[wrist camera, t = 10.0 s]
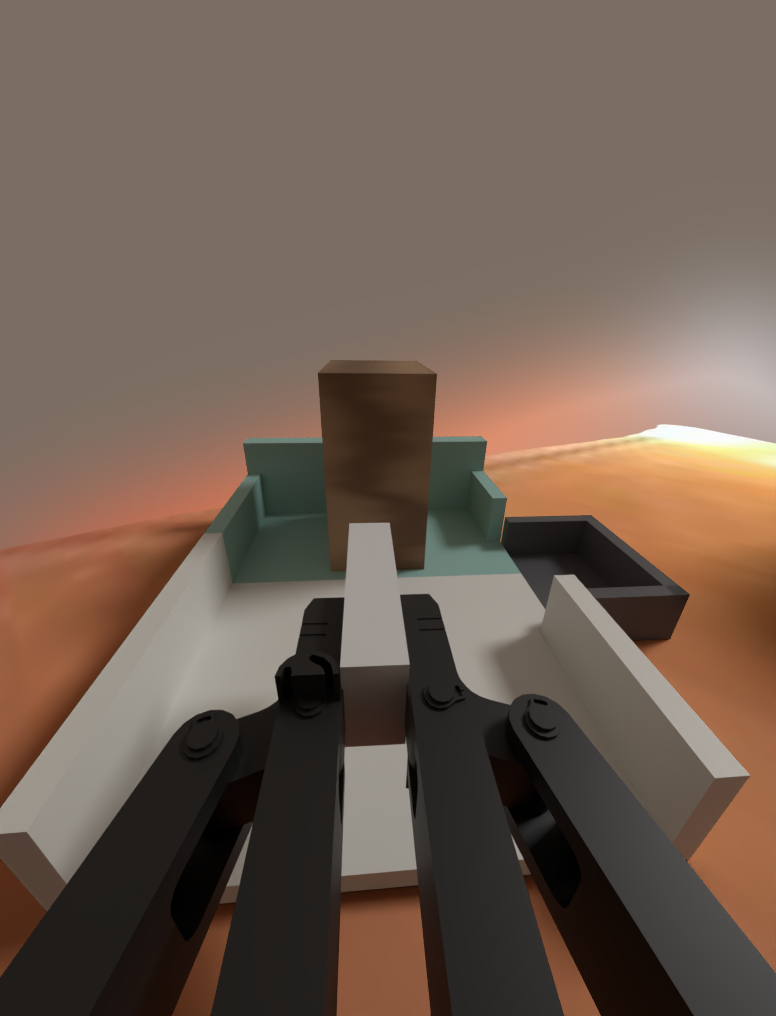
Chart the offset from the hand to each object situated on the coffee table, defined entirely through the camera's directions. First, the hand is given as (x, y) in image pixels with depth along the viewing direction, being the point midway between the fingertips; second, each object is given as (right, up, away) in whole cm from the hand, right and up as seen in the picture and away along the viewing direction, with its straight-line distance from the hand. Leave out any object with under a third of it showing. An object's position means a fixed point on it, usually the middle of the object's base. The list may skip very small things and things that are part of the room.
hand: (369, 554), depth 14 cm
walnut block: (0, -1, +13) cm, 13 cm away
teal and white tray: (0, -4, +8) cm, 9 cm away
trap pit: (+13, -4, +10) cm, 16 cm away
